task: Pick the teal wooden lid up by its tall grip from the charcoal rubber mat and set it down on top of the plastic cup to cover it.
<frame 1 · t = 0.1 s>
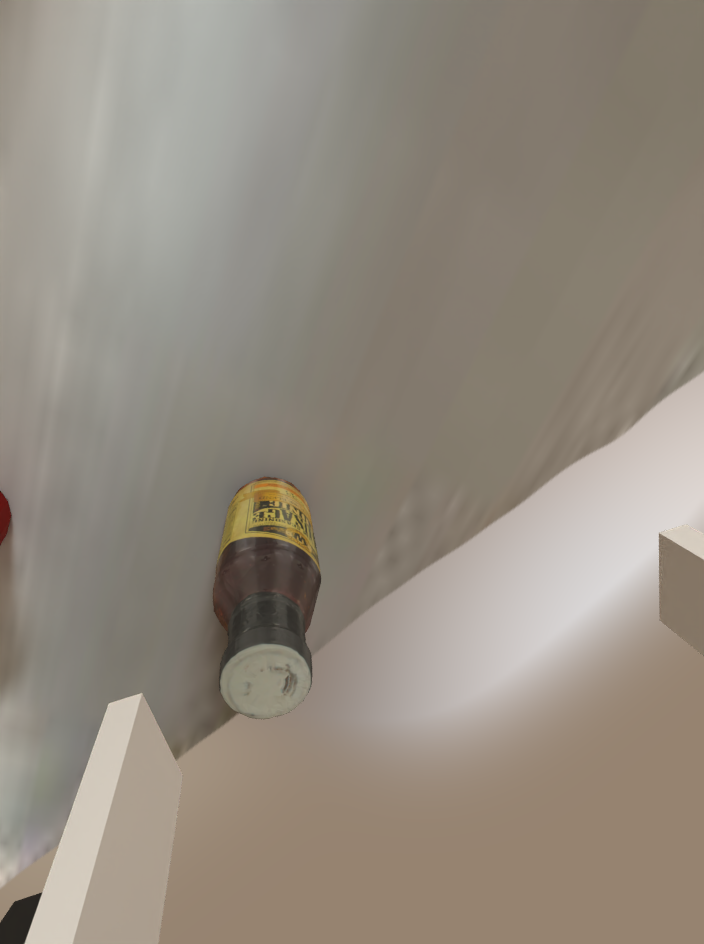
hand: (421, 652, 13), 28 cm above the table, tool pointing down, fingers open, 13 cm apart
sauce bottle: (266, 507, 41), on the table
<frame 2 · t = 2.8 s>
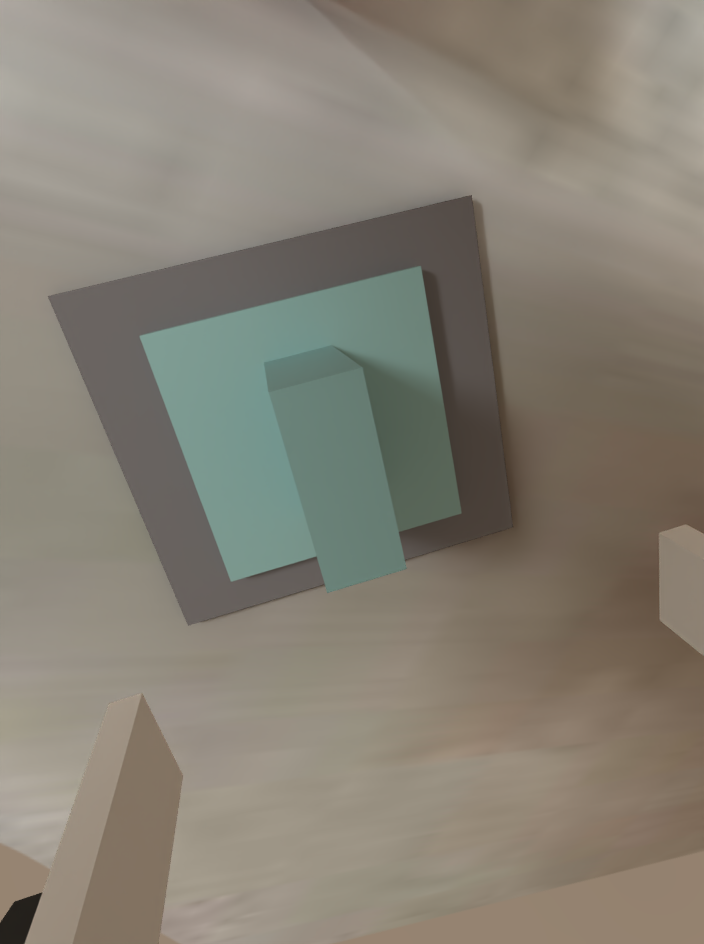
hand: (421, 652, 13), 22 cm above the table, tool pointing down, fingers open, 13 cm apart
mat: (315, 426, 33), on the table
lid: (316, 429, 32), point 1 cm above the table, touching mat
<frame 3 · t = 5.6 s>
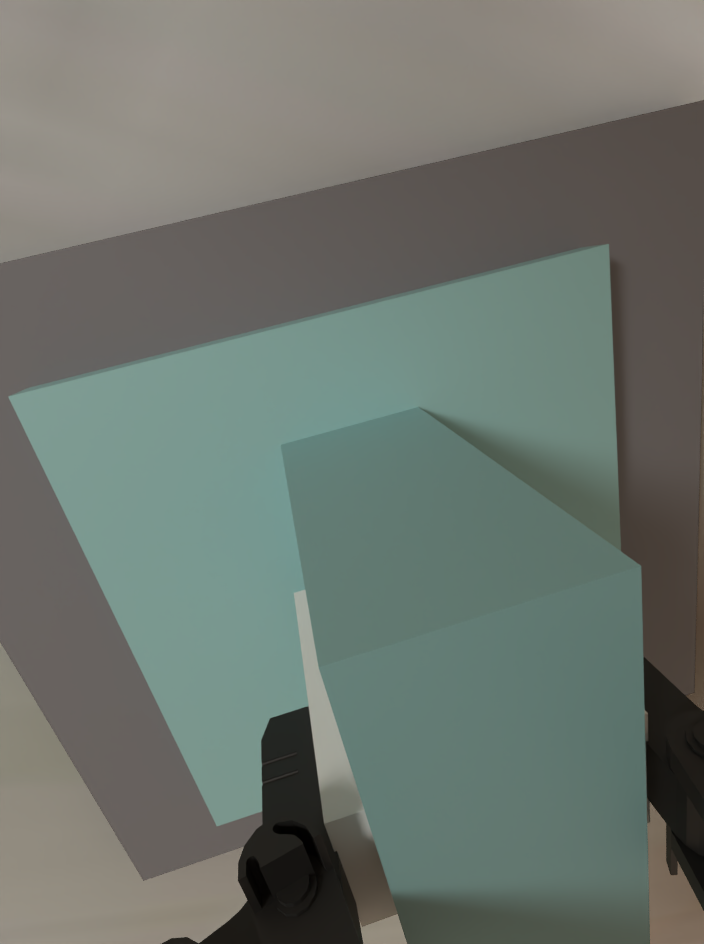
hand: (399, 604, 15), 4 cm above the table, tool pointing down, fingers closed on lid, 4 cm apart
mat: (372, 545, 18), on the table
lid: (377, 556, 17), point 1 cm above the table, touching gripper, mat
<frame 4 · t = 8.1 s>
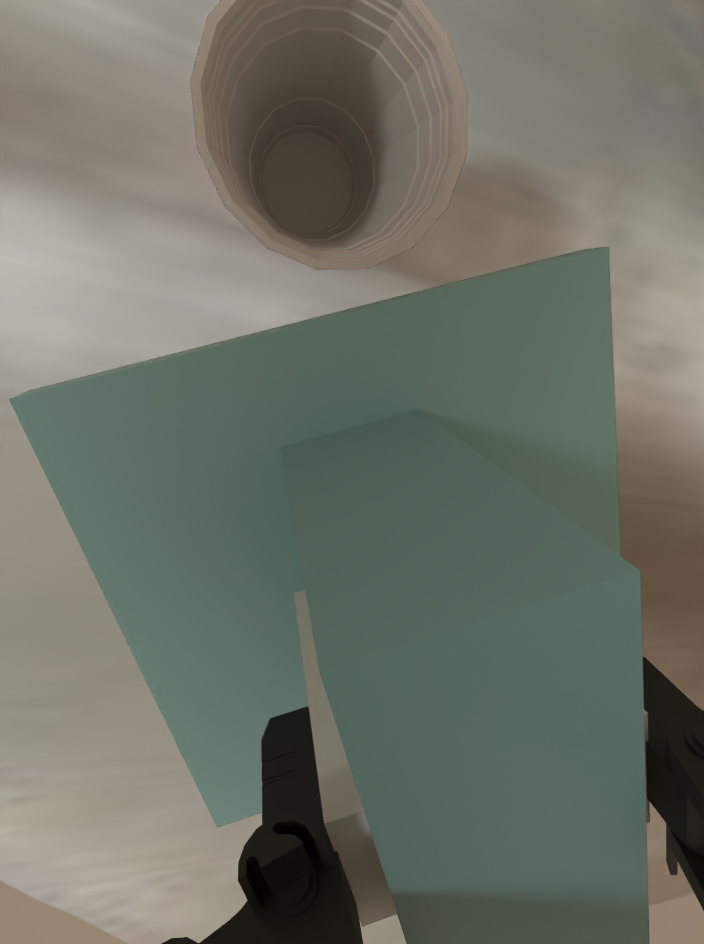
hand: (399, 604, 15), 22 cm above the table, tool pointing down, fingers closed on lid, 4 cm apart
lid: (377, 558, 17), point 19 cm above the table, touching gripper
plastic cup: (309, 182, 31), on the table
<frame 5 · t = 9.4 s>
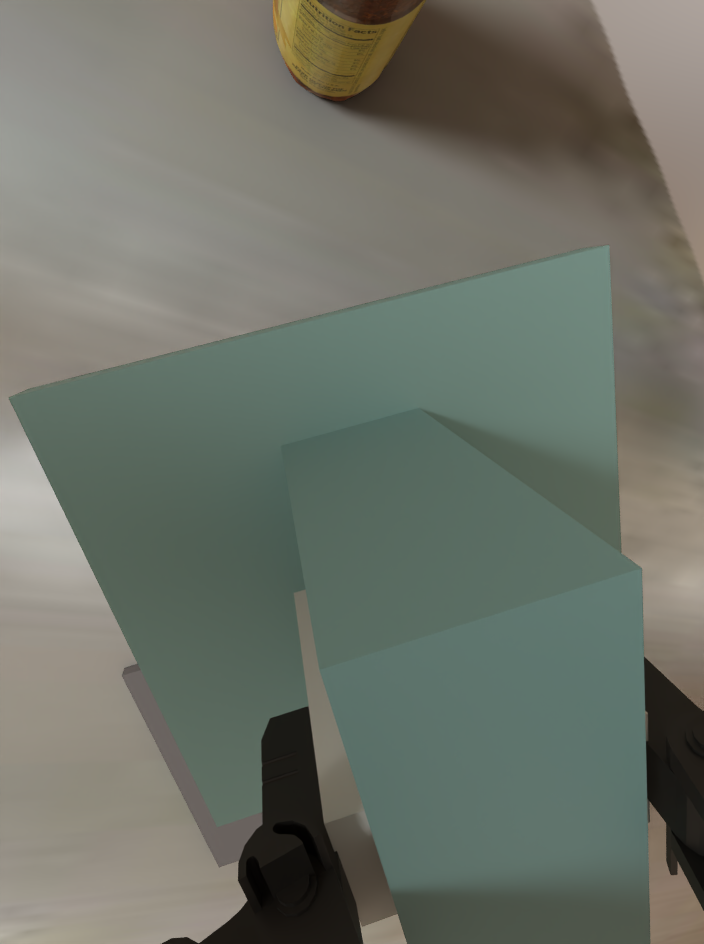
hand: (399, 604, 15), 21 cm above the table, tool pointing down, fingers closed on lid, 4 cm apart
mat: (319, 725, 43), on the table
sauce bottle: (328, 43, 28), on the table
lid: (377, 557, 17), point 18 cm above the table, touching gripper
when the fingers open (17 cm above the table, at t = 10.7 s): lid drops 2 cm, resting on plastic cup.
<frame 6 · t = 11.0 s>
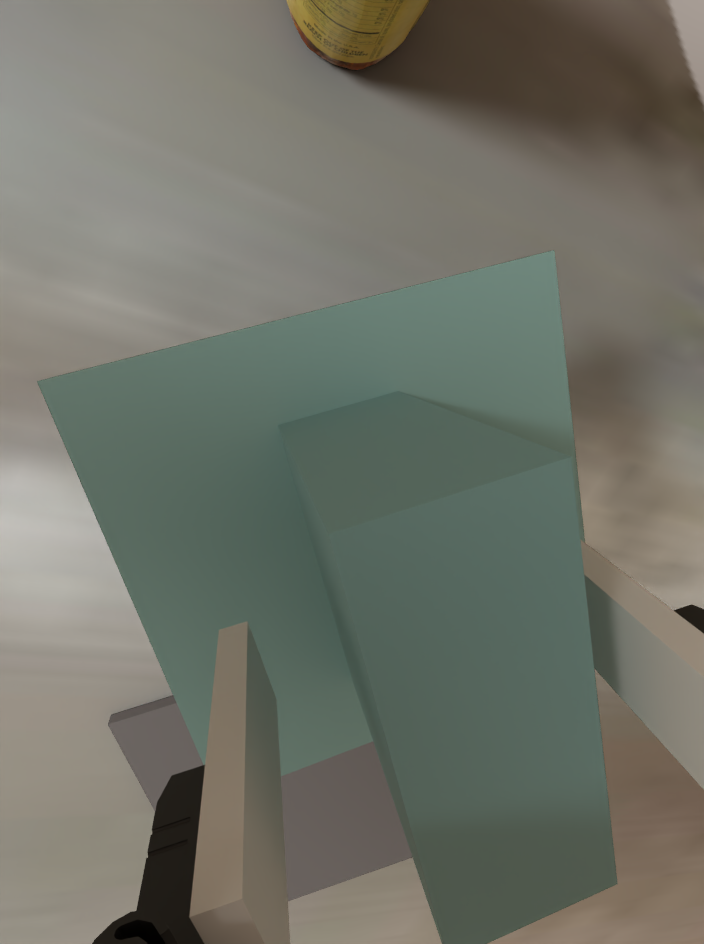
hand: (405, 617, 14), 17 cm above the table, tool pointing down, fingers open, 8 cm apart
mat: (328, 772, 39), on the table
sauce bottle: (344, 2, 24), on the table
lid: (365, 533, 19), point 12 cm above the table, touching plastic cup
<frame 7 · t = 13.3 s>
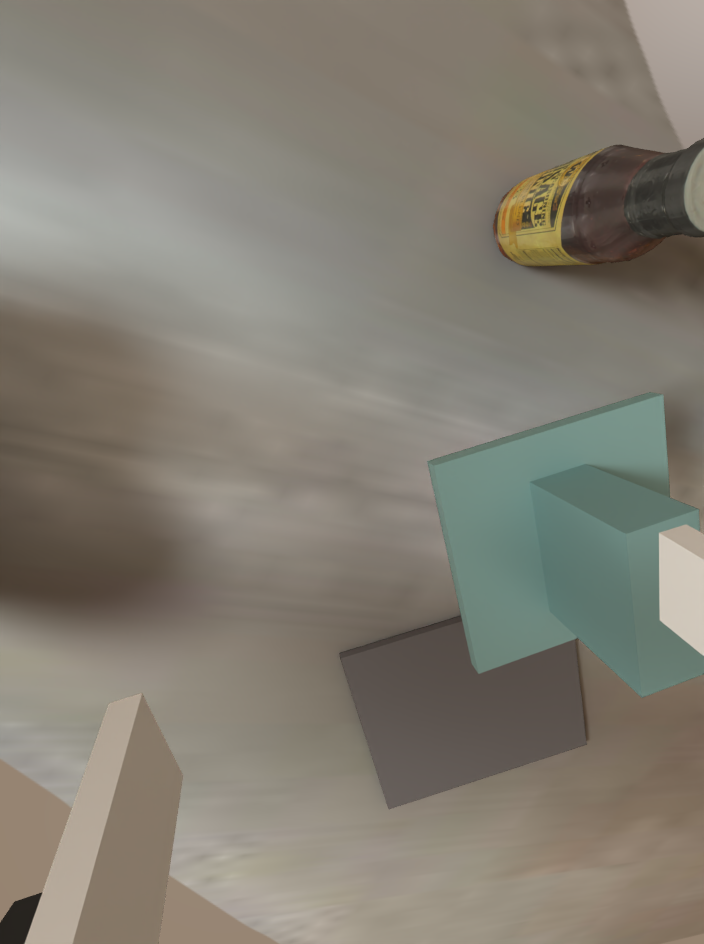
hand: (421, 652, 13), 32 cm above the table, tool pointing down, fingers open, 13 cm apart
mat: (471, 699, 56), on the table
sauce bottle: (523, 227, 41), on the table
lid: (556, 533, 36), point 12 cm above the table, touching plastic cup
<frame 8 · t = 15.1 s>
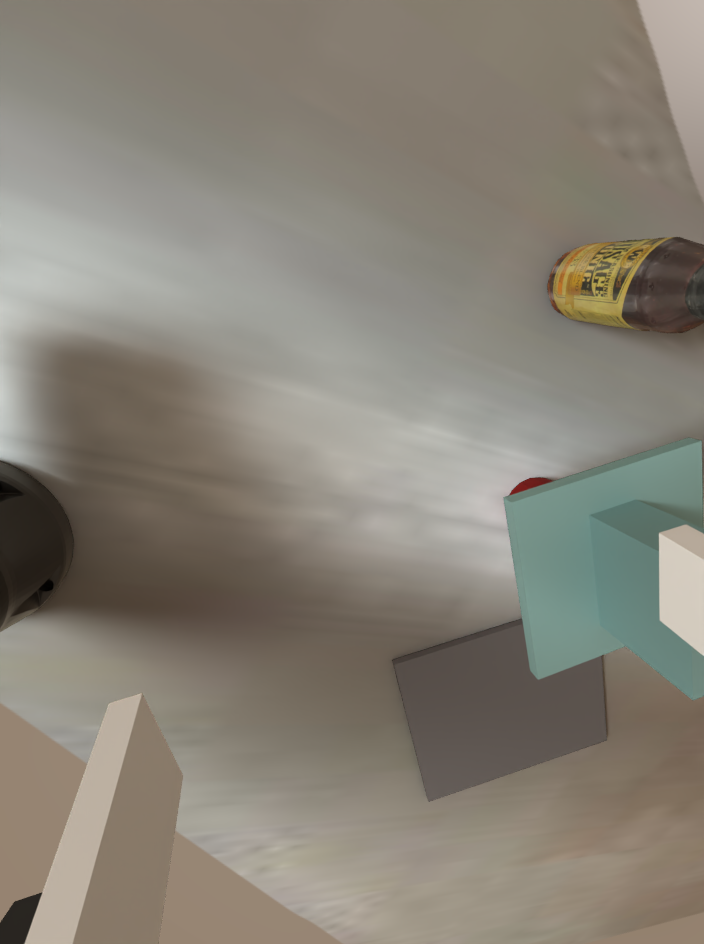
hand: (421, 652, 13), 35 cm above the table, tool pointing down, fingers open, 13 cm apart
mat: (506, 700, 61), on the table
sauce bottle: (572, 285, 46), on the table
lid: (606, 557, 42), point 12 cm above the table, touching plastic cup
plastic cup: (531, 500, 53), on the table, touching lid
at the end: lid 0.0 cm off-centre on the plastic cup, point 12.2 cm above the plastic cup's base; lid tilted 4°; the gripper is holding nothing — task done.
